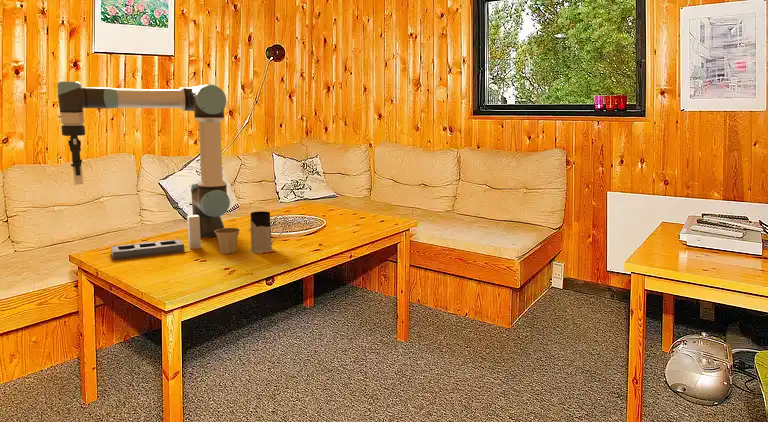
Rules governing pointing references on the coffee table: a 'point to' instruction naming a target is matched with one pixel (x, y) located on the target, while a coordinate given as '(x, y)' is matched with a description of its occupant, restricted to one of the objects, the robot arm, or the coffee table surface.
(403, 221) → the coffee table surface
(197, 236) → the beige tall block
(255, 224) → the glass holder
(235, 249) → the flower pot
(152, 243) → the dark grey ladder frame
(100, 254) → the coffee table surface
